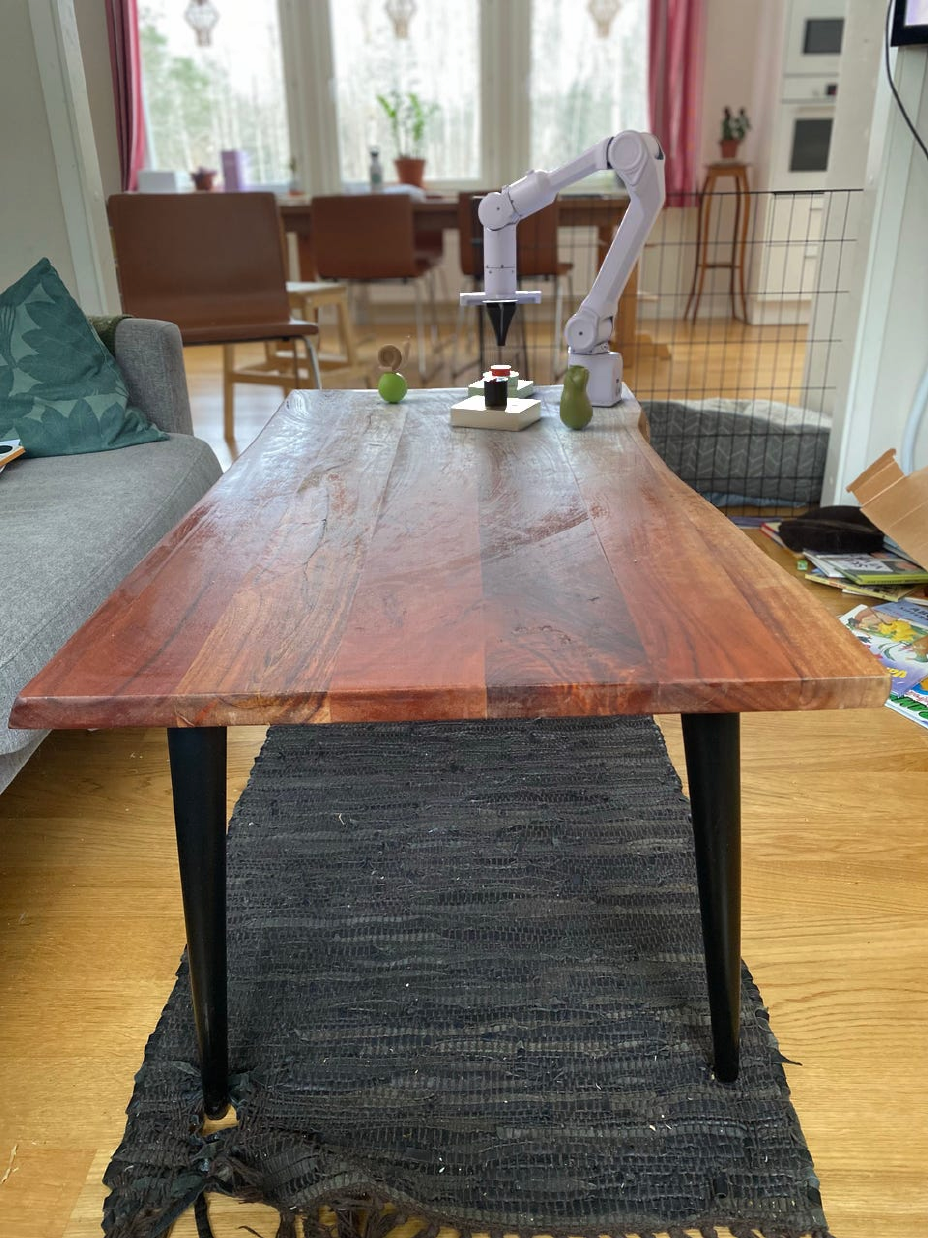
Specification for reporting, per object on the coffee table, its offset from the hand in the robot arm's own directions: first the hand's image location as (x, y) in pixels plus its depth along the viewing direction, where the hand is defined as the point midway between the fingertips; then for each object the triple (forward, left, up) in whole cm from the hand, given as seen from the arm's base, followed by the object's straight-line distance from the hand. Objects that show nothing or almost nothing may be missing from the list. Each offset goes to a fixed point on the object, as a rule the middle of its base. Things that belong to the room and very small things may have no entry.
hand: (500, 345), depth 173 cm
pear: (-22, +21, -9) cm, 32 cm away
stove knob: (-8, +21, -6) cm, 23 cm away
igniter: (0, 0, -9) cm, 9 cm away
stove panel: (-8, +21, -9) cm, 24 cm away
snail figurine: (+16, +12, -9) cm, 22 cm away
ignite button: (0, 0, -6) cm, 6 cm away
